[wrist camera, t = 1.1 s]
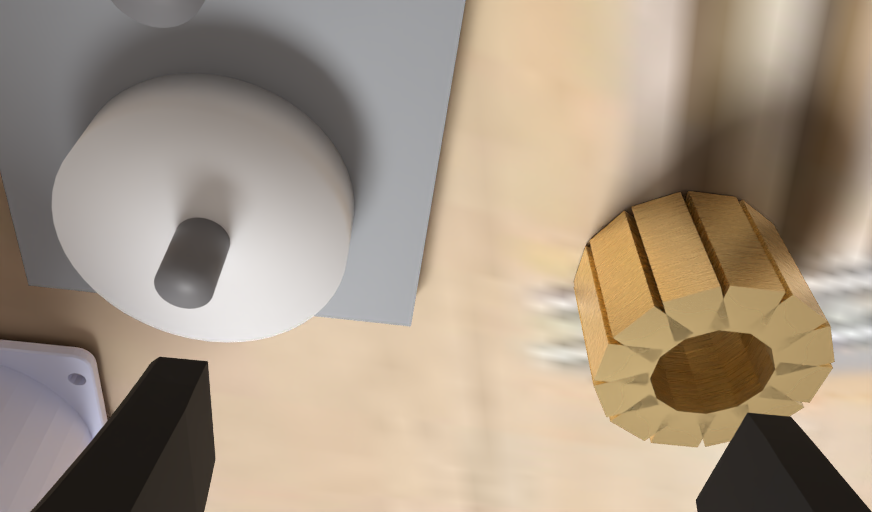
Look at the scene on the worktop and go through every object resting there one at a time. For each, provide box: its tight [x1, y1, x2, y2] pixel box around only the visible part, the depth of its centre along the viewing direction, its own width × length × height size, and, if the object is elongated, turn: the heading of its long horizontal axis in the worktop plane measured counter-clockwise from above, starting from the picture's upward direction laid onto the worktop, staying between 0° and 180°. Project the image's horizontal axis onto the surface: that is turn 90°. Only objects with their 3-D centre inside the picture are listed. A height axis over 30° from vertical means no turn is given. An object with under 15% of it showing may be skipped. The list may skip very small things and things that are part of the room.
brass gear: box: [574, 191, 835, 447], centre depth 20 cm, size 5×5×4 cm
